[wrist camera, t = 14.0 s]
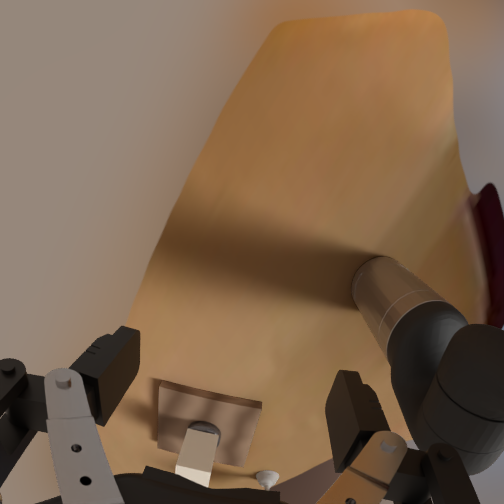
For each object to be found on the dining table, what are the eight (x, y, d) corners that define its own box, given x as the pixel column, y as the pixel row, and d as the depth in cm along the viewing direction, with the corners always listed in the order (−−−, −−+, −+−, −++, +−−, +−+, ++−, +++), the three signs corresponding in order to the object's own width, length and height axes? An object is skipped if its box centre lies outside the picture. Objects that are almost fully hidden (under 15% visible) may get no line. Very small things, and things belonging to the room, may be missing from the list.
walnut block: (262, 402, 52) (261, 409, 50) (244, 460, 57) (243, 467, 55) (162, 380, 53) (159, 386, 51) (160, 441, 57) (157, 448, 55)
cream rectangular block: (218, 435, 50) (211, 472, 41) (215, 453, 51) (207, 489, 42) (187, 428, 50) (175, 464, 41) (185, 446, 51) (174, 481, 42)
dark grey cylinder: (223, 425, 52) (215, 465, 42) (218, 446, 54) (211, 484, 44) (188, 417, 52) (175, 456, 42) (186, 438, 54) (174, 476, 44)
